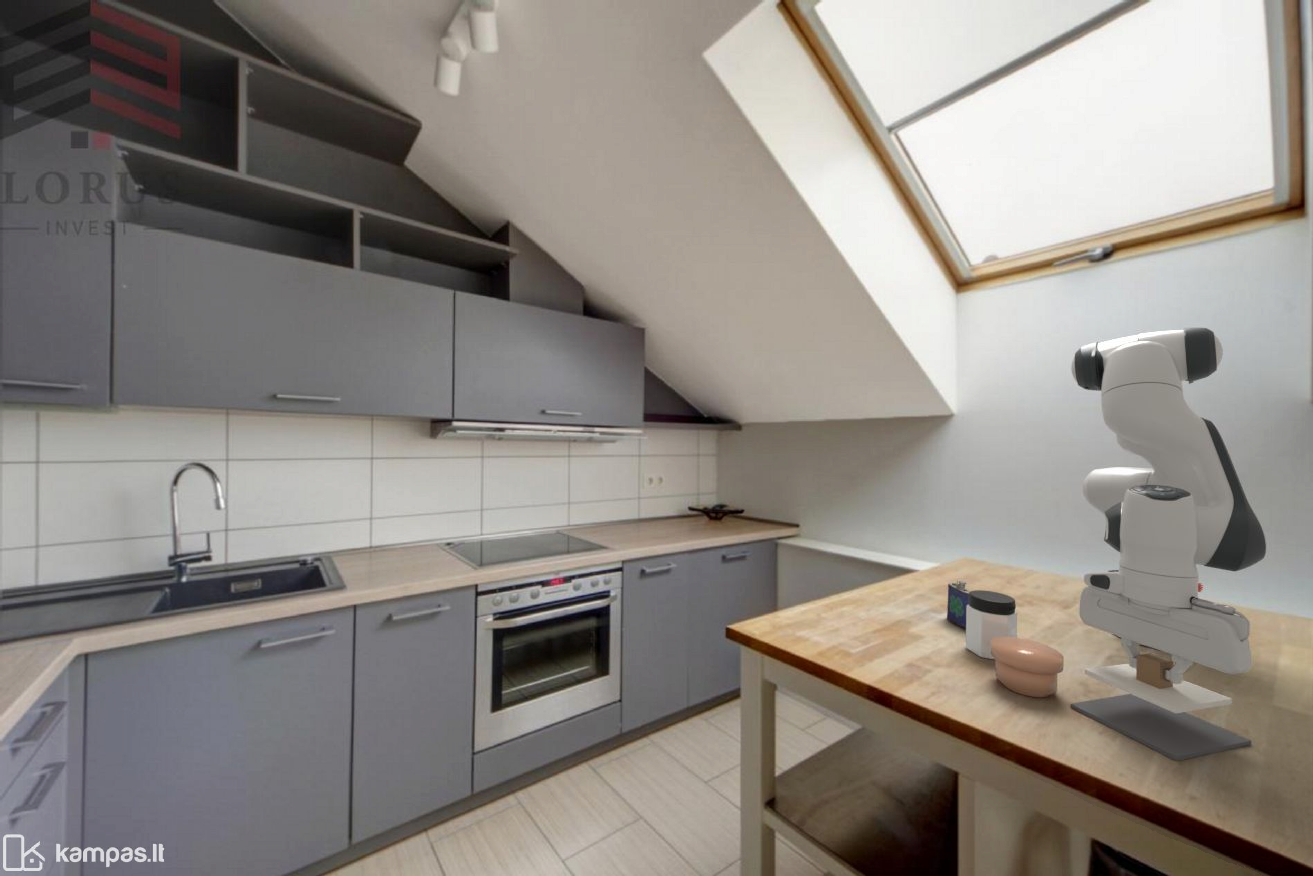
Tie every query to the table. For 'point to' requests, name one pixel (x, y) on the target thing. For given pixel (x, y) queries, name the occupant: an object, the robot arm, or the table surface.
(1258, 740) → the table surface
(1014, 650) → the pink lidded container
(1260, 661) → the table surface
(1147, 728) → the mat
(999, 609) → the jar
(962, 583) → the flask
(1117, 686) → the lid
